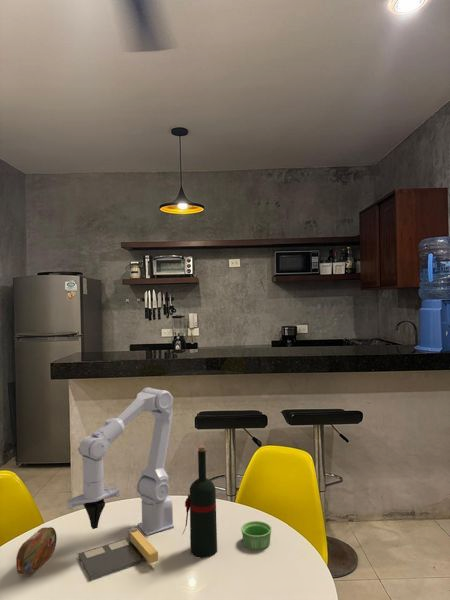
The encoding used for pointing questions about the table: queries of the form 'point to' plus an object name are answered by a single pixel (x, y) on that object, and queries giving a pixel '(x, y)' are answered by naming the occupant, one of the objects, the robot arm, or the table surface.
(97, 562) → the panel
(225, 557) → the table surface
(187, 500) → the wine bottle
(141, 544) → the tan wooden beam
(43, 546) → the tin
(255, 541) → the ramekin
